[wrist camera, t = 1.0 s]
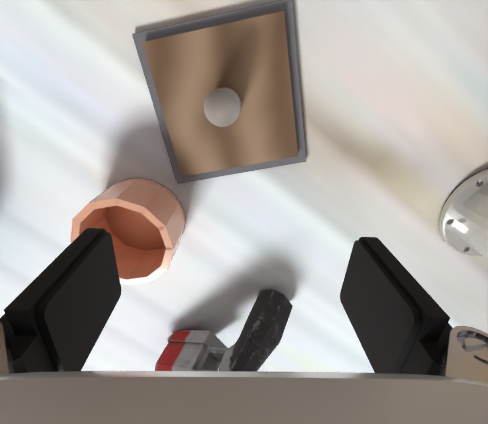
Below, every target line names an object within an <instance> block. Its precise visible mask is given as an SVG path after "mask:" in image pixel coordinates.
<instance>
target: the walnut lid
mask: <svg viewBox="0 0 488 424" xmlns="http://www.w3.org/2000/svg"><path fill="white" fill-rule="evenodd" d="M142 44H143V47H144V50H145V54H146V57H147V61H148V64H149V67H150V71H151V74H152V78H153V81H154V85H155V88H156V91H157V95H158V98H159V102H160V105H161V108H162V112H163V115H164V119H165V122H166V125H167V129H168V132H169V136H170V139H171V143H172V146H173V149H174V153H175V156H176V160H177V163H178V166H179V170H180V173H181V177H183V176H188V175H194V174H200V173H206V172H211V171H217V170H223V169H228V168H234V167H240V166H246V165H251V164H257V163H263V162H268V161H274V160H280V159H286V158H291V157H297V156H298V150H297V140H296V130H295V120H294V109H293V99H292V89H291V79H290V68H289V58H288V48H287V38H286V27H285V17H284V11H280V12H276V13H271V14H267V15H262V16H258V17H253V18H249V19H244V20H240V21H235V22H231V23H226V24H222V25H218V26H213V27H209V28H204V29H200V30H195V31H191V32H186V33H182V34H177V35H173V36H168V37H164V38H159V39H155V40H150V41H146V42H142Z"/></svg>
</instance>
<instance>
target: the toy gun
mask: <svg viewBox="0 0 488 424" xmlns="http://www.w3.org/2000/svg"><path fill="white" fill-rule="evenodd" d="M291 309H292V305H291V303H290V302H289V301H288V299H287V298H286V297H285V296H284V294H282V293H280V292H278V291H276V290H274V289H272V290H262V291H261V292H260V294H259V296H258V297H257V300H256V302H255V304H254V306H253V308H252V310H251V312H250V314H249V316H248V318H247V321H246V323H245V325H244V328H243V330H242V332H241V335H240V337H239V339H238V340H237V342H236V343H235V344H234V345H233V346H231V347H230V348H227V347H226V346H225V345H224V344H223V343H222V342H221V341H220V340H219V339H218V338H217V337H216V336H215V335H214V334H213V333H212V332H211V331H210V330H178V331H176V332H175V333H173V334H172V335H171V336H170V338H169V339H168V342H169V343H168V344H167V346H166V348H165V349H164V351H163V353H162V354H161V356H160V358H159V359H158V361H157V363H156V367H155V371H218V368H219V371H244V372H257V370H258V369H259V368H260V367H261V365H262V364H263V363H264V362H265V360H266V359H267V358H268V356H269V355H270V354H271V353H272V351H273V350H274V349H275V348H276V346H277V345H278V344H279V343H280V340H281V338H282V335H283V332H284V329H285V326H286V323H287V321H288V318H289V315H290V312H291ZM219 366H220V367H219Z"/></svg>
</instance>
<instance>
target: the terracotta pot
mask: <svg viewBox="0 0 488 424" xmlns="http://www.w3.org/2000/svg"><path fill="white" fill-rule="evenodd" d="M184 226H185V216H184V211H183V208H182V206H181V204H180V202H179V201H178V199H177V198H176V197H175V195H174V194H173V193H172V192H171V191H169V190H168V189H167V188H166V187H164V186H163V185H161V184H159V183H157V182H154V181H151V180H148V179H142V178H133V179H127V180H124V181H121V182H118V183H115V184H114V185H112V186H111V187H109V188H108V189H107V190H105V191H104V192H103V193H101V194H100V195H99V196H97V197H96V198H95V199H93V200H92V201H91V202H89V203H88V204H87V205H86V206H85V207H84V208H83V209H82V210H81V211H80V212H79V213H78V214H77V215H76V216H75V217H74V218H73V221H72V232H71V243H72V242H73V241H74V240H75V239H76V238H77V237H78V236H79V235H80V234H81V233H82V232H83V231H84V230H85V229H87V228H104V229H105V230H106V231H107V232H109V233H110V234H111V236H112V241H113V247H114V252H115V258H116V263H117V268H118V274H119V279H120V283H121V284H125V285H133V284H140V283H147V282H151V281H153V280H154V279H155V278H157V277H158V276H159V275H161V274H162V273H163V272H165V271H166V270H167V269H168V267H169V265H170V263H171V261H172V258H173V256H174V254H175V251H176V249H177V247H178V244H179V242H180V239H181V236H182V233H183V230H184Z"/></svg>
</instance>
